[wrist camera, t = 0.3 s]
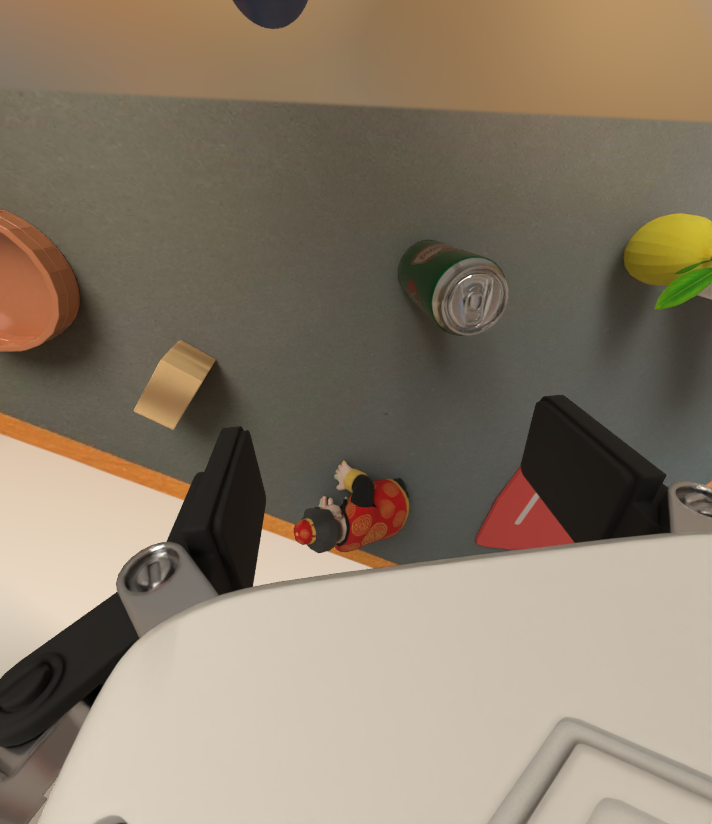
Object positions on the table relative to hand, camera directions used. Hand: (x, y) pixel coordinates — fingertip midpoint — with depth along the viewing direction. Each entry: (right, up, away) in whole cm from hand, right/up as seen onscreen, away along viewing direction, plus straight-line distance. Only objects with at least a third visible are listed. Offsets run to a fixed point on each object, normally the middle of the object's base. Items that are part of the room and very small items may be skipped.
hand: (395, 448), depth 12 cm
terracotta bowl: (-30, +12, +18) cm, 37 cm away
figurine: (-2, -8, +33) cm, 34 cm away
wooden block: (-18, +5, +23) cm, 30 cm away
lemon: (+25, +17, +22) cm, 37 cm away
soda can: (+5, +14, +21) cm, 26 cm away
